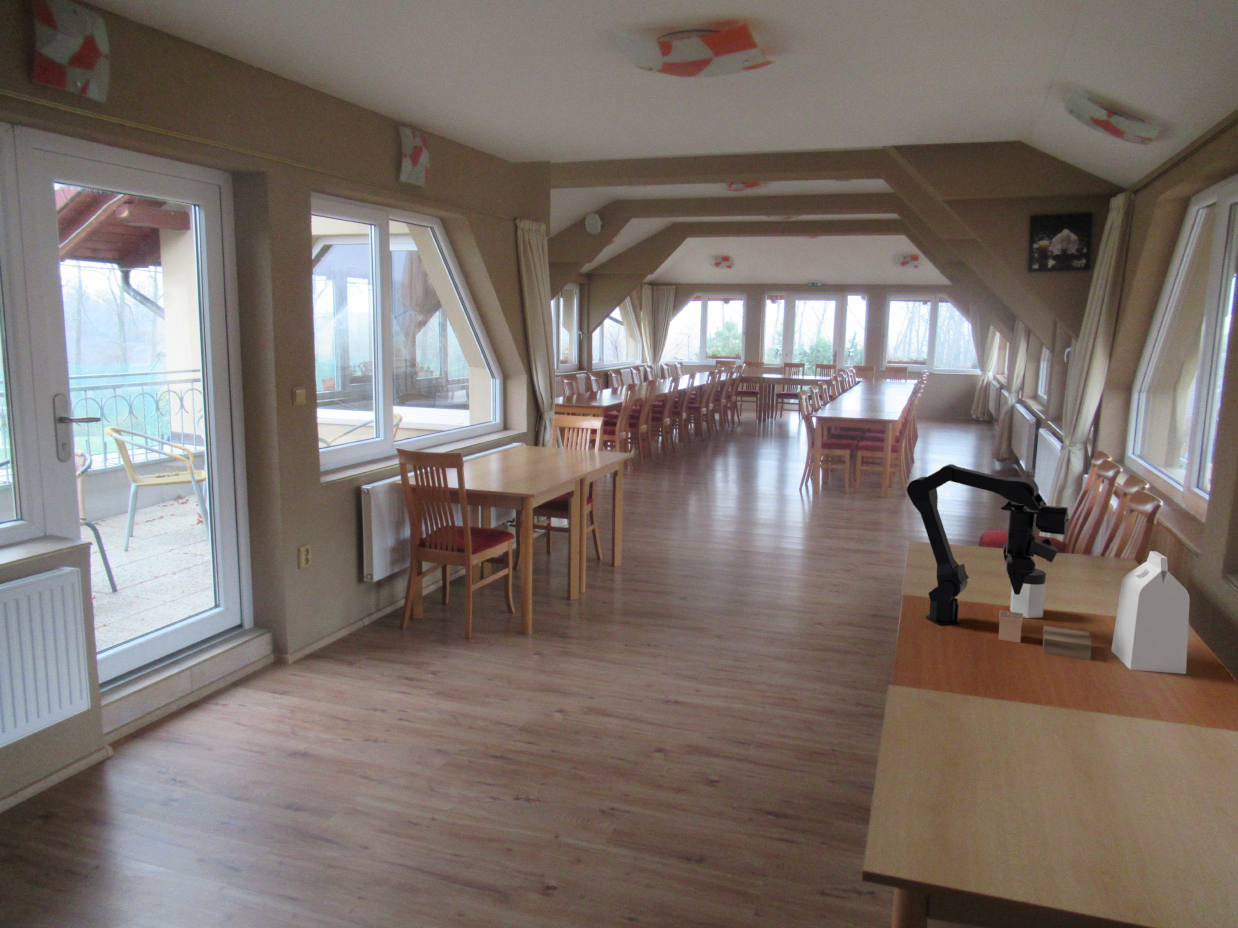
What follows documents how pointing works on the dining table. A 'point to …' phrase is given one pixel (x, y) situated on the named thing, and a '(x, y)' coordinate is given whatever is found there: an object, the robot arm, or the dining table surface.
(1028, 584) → the jar
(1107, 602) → the dining table surface
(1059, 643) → the beige block
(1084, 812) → the dining table surface
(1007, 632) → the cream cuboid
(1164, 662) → the milk
